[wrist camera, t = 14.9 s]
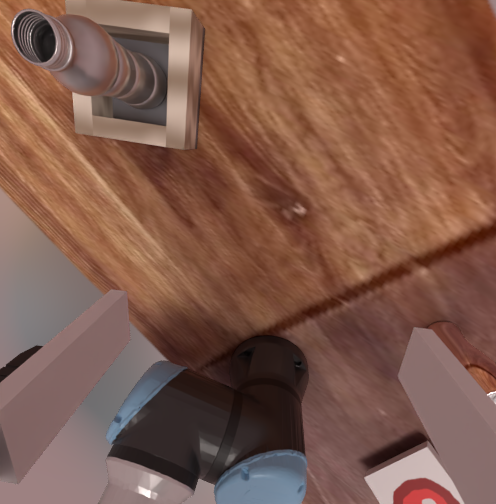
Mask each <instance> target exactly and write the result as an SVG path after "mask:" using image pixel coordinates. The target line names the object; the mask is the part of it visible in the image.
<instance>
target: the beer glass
mask: <svg viewBox="0 0 496 504" xmlns="http://www.w3.org/2000/svg"><path fill="white" fill-rule="evenodd" d="M426 329H432V330H433V331H434V332H435V334H436V335H437V336H438V337H439V338H440V339H441V341H442V342H443V343H444V344H445V345H446V346H447V348H448V349H449V350H450V351H451V352H452V354H453V355H454V356H455V357H456V358H457V359H458V361H459V362H460V363H461V364H462V365H463V366H464V368H465V369H466V370H467V371H468V372H469V374H470V375H471V376H472V377H473V378H474V379H475V381H476V382H477V383H478V384H479V385H480V386H481V388H482V389H483V390H484V391H485V392H486V393H487V395H488V396H489V397H490V398H491V399H492V401H493V402H494V403H495V404H496V363H495V362H494V361H493V360H491V359H490V358H489V357H488V356H486V355H485V354H483V353H482V352H481V351H479V350H478V349H477V348H475V347H474V346H473V345H471V344H470V343H469V342H468V341H467V340H466V339H465V338H464V336H463V334H462V333H461V331H460V329H459V328H458V327H457V326H456V325H455V324H453V323H451V322H446V321H441V322H436V323H433V324H431V325H430V326H428V327H427V328H426Z"/></svg>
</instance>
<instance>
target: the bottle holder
mask: <svg viewBox="0 0 496 504" xmlns="http://www.w3.org/2000/svg"><path fill="white" fill-rule="evenodd" d="M65 4H66V14H73V15H80V16H84V17H87V18H89V19H91V20H92V21H94V22H95V23H97V24H98V25H99V26H101V27H102V28H103V29H104V30H105V31H106V32H107V33H108V34H109V35H110V36H111V37H112V38H113V39H114V40H115V41H116V42H117V43H119V44H120V45H121V46H123V47H124V48H126V49H127V50H130V51H132V52H138V53H142V54H144V55H147V56H149V57H150V58H152V59H153V60H154V61H155V62H156V63H157V64H158V65H159V67H160V68H161V69H162V71H163V73H164V75H165V78H166V82H167V91H166V95H165V97H164V99H163V101H162V102H161V103H160V104H159V105H158V106H156V107H154V108H150V109H142V110H141V109H136V108H134V107H132V106H130V105H128V104H126V103H125V102H123V101H122V100H120V99H117V98H114V97H108V96H84V95H79V94H76V93H74V92H72V94H73V107H74V120H75V132H76V133H79V134H86V135H92V136H98V137H105V138H111V139H118V140H124V141H131V142H137V143H143V144H150V145H156V146H163V147H169V148H176V149H182V150H188V149H197V137H198V123H199V109H200V94H201V80H202V65H203V51H204V36H205V28H204V27H203V25H202V24H201V22H200V21H199V19H198V18H197V17H196V15H195V14H194V12H193V11H192V10H191V9H184V8H176V7H168V6H160V5H153V4H145V3H137V2H130V1H122V0H65Z"/></svg>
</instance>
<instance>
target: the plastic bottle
mask: <svg viewBox="0 0 496 504" xmlns="http://www.w3.org/2000/svg"><path fill="white" fill-rule="evenodd" d="M11 35H12V40H13V43H14V45H15V47H16V49H17V51H18V52H19V53H20V55H21V56H22V57H23V58H24V59H25V60H27V61H29V62H30V63H32V64H34V65H37V66H40V67H42V68H44V69H46V70H49V71H50V72H51V74H52V75H53V76H54V78H55V79H56V80H57V81H58V82H59V83H61V84H62V85H63V86H64V87H66V88H67V89H69V90H70V91H72V92H74V93H76V94H79V95H84V96H108V97H114V98H117V99H120V100H122V101H123V102H125V103H126V104H128V105H130V106H132V107H134V108H136V109H141V110H142V109H150V108H154V107H156V106H158V105H159V104H160V103H161V102H162V101H163V99H164V97H165V95H166V91H167V82H166V78H165V75H164V73H163V71H162V69H161V68H160V67H159V65H158V64H157V63H156V62H155V61H154V60H153V59H152V58H150V57H149V56H147V55H144V54H142V53H138V52H132V51H130V50H127V49H126V48H124V47H123V46H121V45H120V44H119V43H117V42H116V41H115V40H114V39H113V38H112V37H111V36H110V35H109V34H108V33H107V32H106V31H105V30H104V29H103V28H102V27H101V26H99V25H98V24H97V23H95V22H94V21H92V20H91V19H89V18H87V17H84V16H80V15H73V14H65V15H61V16H58V17H56V18H54V17H52V16H50V15H46V14H44V13H42V12H40V11H37V10H34V9H24V10H21V11H20V12H18V13H17V14H16V16H15V17H14V19H13V21H12V25H11Z"/></svg>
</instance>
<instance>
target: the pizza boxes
mask: <svg viewBox="0 0 496 504" xmlns="http://www.w3.org/2000/svg"><path fill="white" fill-rule="evenodd" d="M364 478H365V480H366V482H367V483H368V485H369V487H370V488H371V490H372V491H373V493H374V495H375V496H376V498H377V500H378V501H379V503H380V504H464V502H463V500H462V498H461V496H460V494H459V492H458V491H457V489H456V487H455V485H454V483H453V481H452V479H451V477H450V475H449V473H448V471H447V470H446V468H445V466H444V464H443V462H442V460H441V458H440V456H439V455H438V453H437V452H436V451H435V449H434V448H433V447H432V445H431V444H430V443H429V441H426V442H424V443H421V444H419V445H417V446H415V447H413V448H411V449H409V450H407V451H405V452H403V453H401V454H399V455H397V456H395V457H393V458H391V459H389V460H387V461H385V462H383V463H381V464H379V465H377V466H375V467H373V468H371V469H369V470H367V472H366V474H365V476H364Z"/></svg>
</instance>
